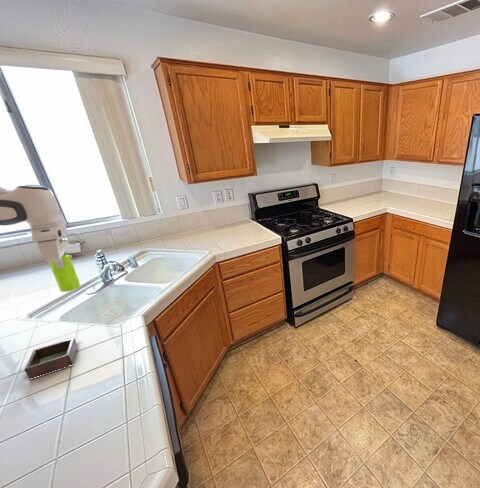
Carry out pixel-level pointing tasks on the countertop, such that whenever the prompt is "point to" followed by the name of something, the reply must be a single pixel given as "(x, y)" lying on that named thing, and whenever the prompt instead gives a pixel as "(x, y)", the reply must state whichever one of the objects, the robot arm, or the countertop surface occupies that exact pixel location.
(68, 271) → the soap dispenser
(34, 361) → the tray
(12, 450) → the countertop surface
